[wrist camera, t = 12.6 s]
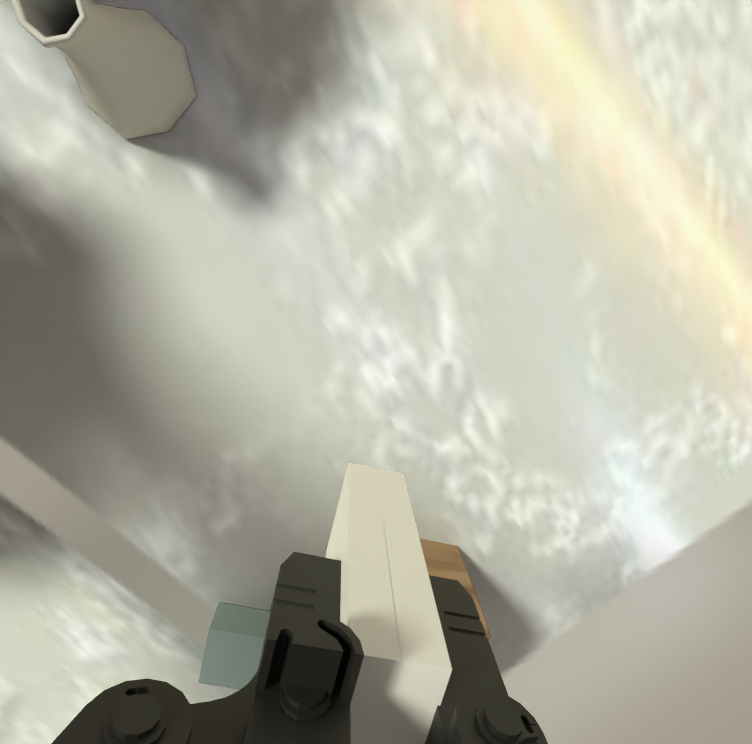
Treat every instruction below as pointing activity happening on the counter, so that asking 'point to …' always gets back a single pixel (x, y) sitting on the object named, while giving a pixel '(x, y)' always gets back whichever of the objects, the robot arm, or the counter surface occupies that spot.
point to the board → (234, 646)
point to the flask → (116, 61)
